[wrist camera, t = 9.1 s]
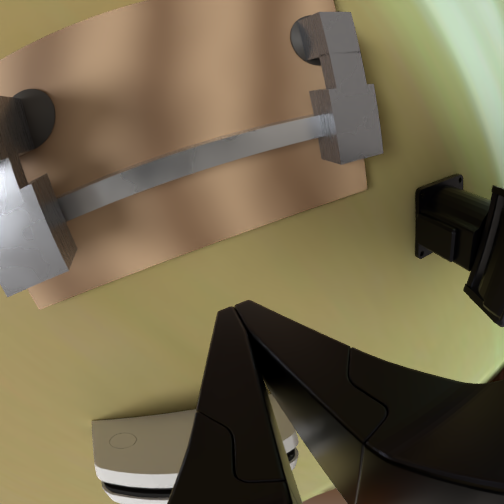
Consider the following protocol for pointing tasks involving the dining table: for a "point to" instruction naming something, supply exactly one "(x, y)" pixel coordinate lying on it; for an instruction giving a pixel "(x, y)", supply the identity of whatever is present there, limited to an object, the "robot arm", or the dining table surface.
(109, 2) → the dining table surface
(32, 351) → the dining table surface
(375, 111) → the rail
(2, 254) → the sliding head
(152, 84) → the brown wooden board
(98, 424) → the grey curved block
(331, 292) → the dining table surface
